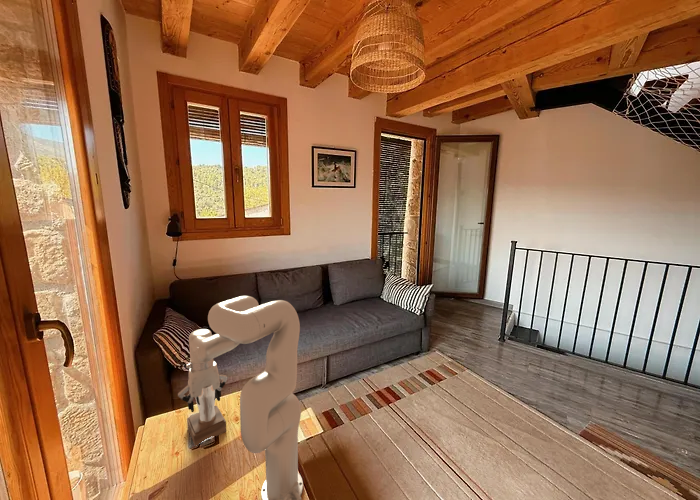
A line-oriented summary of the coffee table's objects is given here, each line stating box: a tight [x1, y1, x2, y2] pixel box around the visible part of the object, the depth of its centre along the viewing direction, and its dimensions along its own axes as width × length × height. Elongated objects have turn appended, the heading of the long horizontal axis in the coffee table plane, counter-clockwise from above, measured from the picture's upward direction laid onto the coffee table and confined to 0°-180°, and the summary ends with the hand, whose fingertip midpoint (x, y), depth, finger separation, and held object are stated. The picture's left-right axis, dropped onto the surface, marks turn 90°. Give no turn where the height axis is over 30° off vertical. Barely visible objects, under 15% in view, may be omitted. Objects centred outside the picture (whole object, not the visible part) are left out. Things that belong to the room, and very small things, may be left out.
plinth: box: [186, 405, 227, 447], centre depth 110 cm, size 11×11×5 cm
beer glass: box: [195, 385, 216, 424], centre depth 108 cm, size 7×7×15 cm
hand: (205, 404), depth 108 cm, fingers open, 8 cm apart
